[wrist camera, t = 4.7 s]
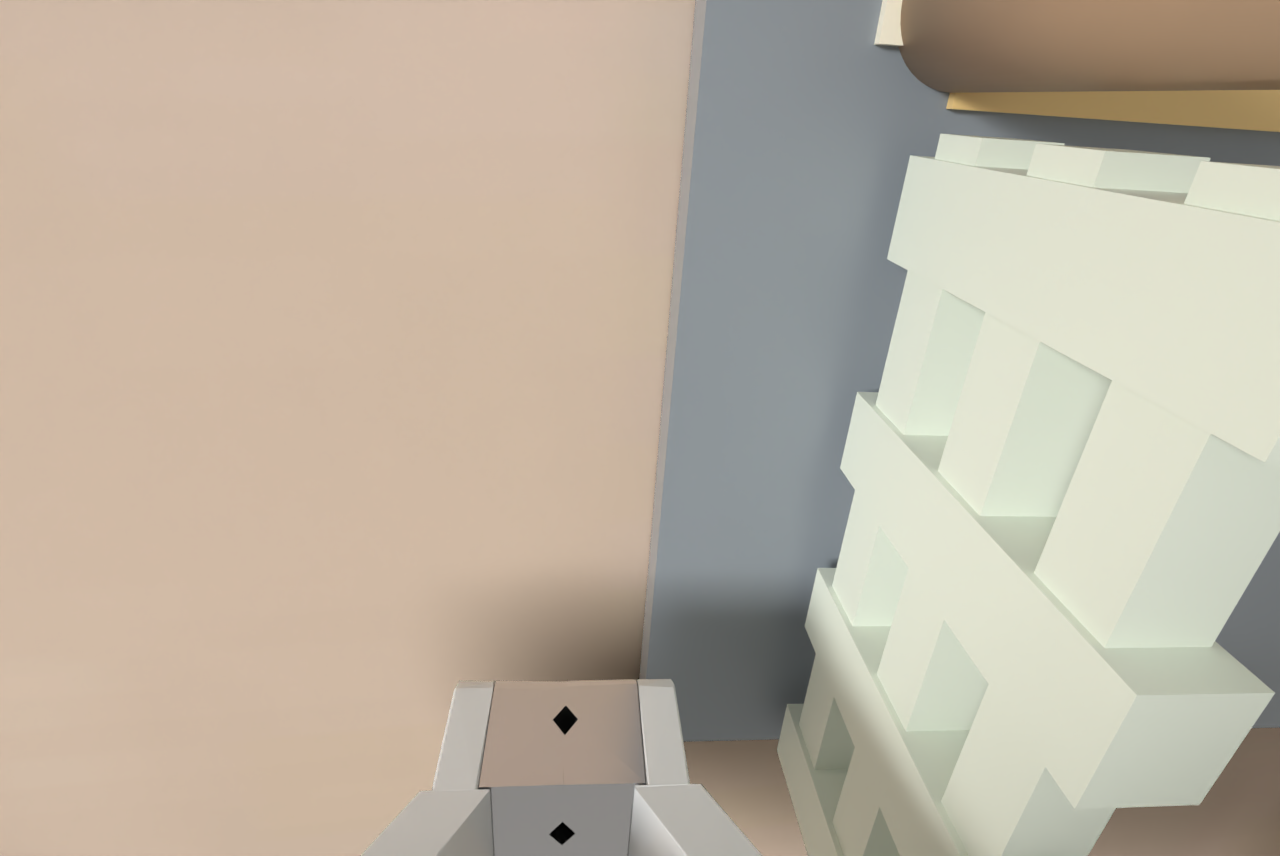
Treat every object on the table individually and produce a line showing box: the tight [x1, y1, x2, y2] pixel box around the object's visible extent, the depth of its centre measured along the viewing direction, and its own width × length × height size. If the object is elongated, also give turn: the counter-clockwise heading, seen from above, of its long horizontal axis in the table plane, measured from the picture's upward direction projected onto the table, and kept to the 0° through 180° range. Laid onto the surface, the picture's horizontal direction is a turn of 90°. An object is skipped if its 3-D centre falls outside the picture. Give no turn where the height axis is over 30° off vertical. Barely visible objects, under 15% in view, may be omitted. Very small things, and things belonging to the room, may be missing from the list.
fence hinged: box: [777, 134, 1280, 856], centre depth 9 cm, size 12×1×6 cm, turn 177°
